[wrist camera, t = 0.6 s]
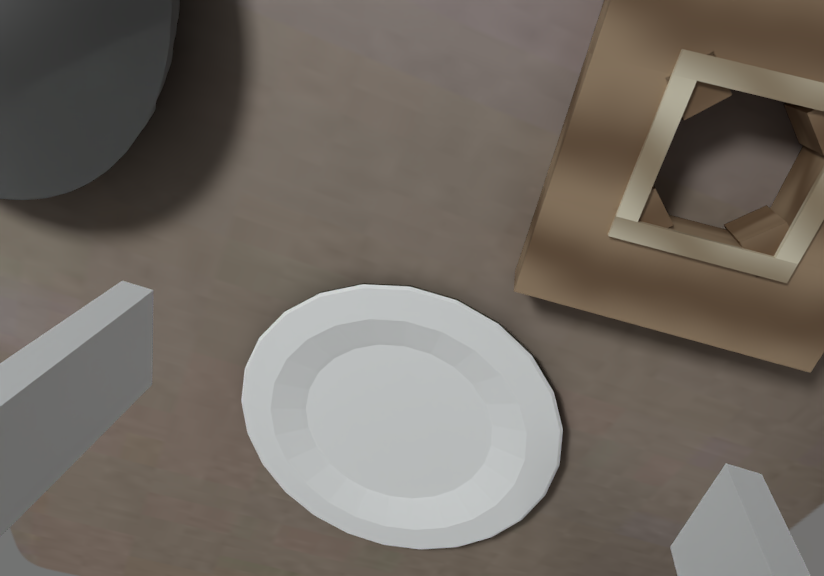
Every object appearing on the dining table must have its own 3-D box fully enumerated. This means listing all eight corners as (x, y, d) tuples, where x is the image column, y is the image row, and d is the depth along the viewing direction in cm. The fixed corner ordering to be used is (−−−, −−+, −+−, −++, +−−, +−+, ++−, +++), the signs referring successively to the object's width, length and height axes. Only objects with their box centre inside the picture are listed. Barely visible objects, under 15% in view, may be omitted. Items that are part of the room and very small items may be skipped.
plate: (528, 562, 50) (528, 580, 48) (253, 501, 53) (245, 516, 51) (597, 308, 39) (600, 320, 37) (243, 249, 42) (232, 258, 40)
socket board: (630, -79, 29) (641, -89, 26) (1001, 4, 28) (1057, 4, 25) (515, 271, 38) (513, 293, 35) (790, 346, 37) (812, 375, 34)
